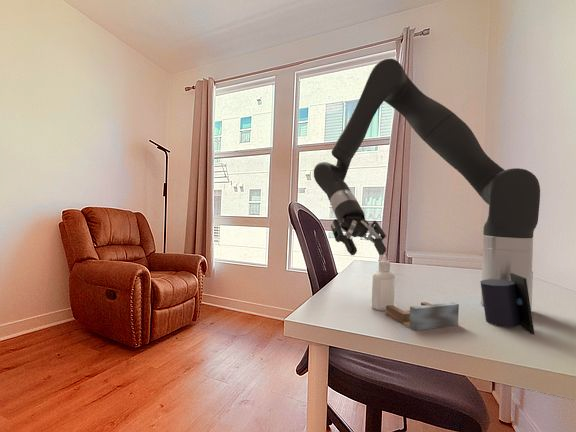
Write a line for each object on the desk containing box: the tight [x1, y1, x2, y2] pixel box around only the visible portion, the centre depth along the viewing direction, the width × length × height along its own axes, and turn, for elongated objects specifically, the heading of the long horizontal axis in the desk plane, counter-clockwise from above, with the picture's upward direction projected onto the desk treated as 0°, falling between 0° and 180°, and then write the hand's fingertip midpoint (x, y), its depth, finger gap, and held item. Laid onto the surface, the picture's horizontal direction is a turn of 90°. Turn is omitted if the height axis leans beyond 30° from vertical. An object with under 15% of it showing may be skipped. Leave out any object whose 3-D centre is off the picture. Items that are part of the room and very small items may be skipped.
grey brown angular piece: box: [385, 301, 460, 331], centre depth 53 cm, size 11×8×4 cm
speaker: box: [480, 273, 535, 336], centre depth 53 cm, size 8×6×10 cm
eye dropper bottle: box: [371, 254, 396, 312], centre depth 60 cm, size 4×6×12 cm
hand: (369, 253), depth 65 cm, fingers open, 8 cm apart
